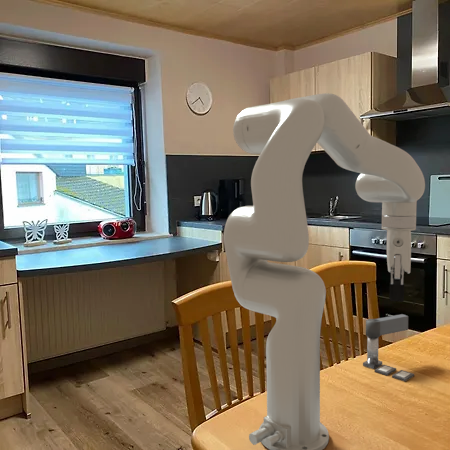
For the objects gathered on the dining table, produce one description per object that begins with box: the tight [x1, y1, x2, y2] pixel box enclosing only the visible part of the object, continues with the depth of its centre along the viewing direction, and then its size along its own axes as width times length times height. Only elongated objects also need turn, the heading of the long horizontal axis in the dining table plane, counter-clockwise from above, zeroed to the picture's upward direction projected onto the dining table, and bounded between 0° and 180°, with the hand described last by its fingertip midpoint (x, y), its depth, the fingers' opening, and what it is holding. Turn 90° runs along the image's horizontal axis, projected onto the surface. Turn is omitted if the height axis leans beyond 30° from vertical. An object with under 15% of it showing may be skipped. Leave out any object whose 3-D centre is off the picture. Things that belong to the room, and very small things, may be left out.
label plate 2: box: [391, 369, 415, 382], centre depth 110 cm, size 4×3×1 cm
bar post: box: [362, 336, 383, 370], centre depth 116 cm, size 4×3×7 cm
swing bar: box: [365, 313, 409, 338], centre depth 117 cm, size 3×12×4 cm, turn 114°
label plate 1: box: [374, 364, 397, 377], centre depth 113 cm, size 4×3×1 cm
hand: (396, 300), depth 111 cm, fingers closed
